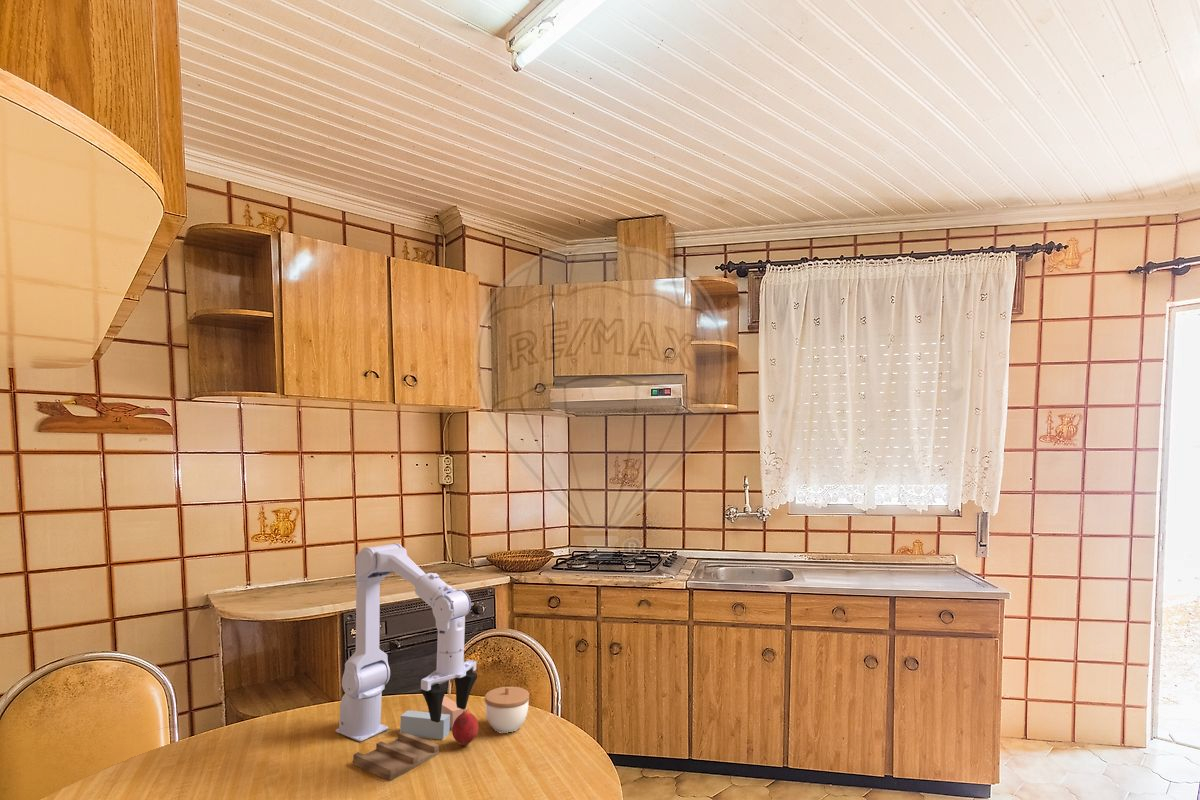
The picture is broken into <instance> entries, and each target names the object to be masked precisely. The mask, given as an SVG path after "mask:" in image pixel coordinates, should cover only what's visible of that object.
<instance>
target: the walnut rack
mask: <svg viewBox="0 0 1200 800" xmlns="http://www.w3.org/2000/svg"><path fill="white" fill-rule="evenodd" d="M439 753H440V751H439V743H438V744H437V743H435V742H432V741H430V740H426V739H425V738H422V737H416V736H413V735H411V734H408V733H405V732H398V733H397V739H395V740H392V741H389V742H388V743H386V742H384V741H379V742H377V743H376V745H375V749H374V750H372V751H370V752H368V753H366V754H364V753H361V752H360V751H358V752H356V753H354V754H353V760H352V765H353V766H355V765H356V766H355V767H357V766H358V768H359V767H360V769H362V770H363V771H366V772H369V773H371V774H373V775H376V776H378V777H380V778H382V779H385V780H387V781H389V782H391V781H393V780H395V779H396V778H398V777H400V776H402V775H404V774H405V773H407V772H409V771H410V770H413V769H414V768H416V767H418V766H420V765H422V764H423V763H425V762H428V761H430V760H431V759H432V758H434V757H437V756H438V755H439Z"/></svg>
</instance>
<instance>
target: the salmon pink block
mask: <svg viewBox="0 0 1200 800" xmlns="http://www.w3.org/2000/svg"><path fill="white" fill-rule="evenodd" d="M463 711H464V710H463V709H460V708H457V705H456V701H454V700H453V699H451V698H449V697H448V696H445V695H444V698H443V702H442V709H441V714H449V715H450V730H451V729H452V728H453V724H454V721H455V720H456V718H457V717H458V716H459V715H460V714H462V713H463Z"/></svg>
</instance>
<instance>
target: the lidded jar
mask: <svg viewBox="0 0 1200 800" xmlns="http://www.w3.org/2000/svg"><path fill="white" fill-rule="evenodd" d="M529 700H530V692H529V691H528V690H527V689H525V688H524V687H520V686H501V687H497V688H493V689H490V690H489V691H487V693H486V694H485V695H484V709H485V716H486V720H487V722H488V724H489V726H491V728H493V730H494V732H496V731H497V732H496V733H498V732H501V733H500V734H503V733H507V734H509V733H508V732H512V733H514V732H513V731H515V730H517V729H518V728H519V729H520V727H522V725H523V723H525V721H526V719H527V716H528V712H529V702H530V701H529ZM519 729H518V730H519ZM518 730H517V731H518ZM515 732H516V731H515Z"/></svg>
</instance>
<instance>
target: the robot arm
mask: <svg viewBox="0 0 1200 800" xmlns="http://www.w3.org/2000/svg"><path fill="white" fill-rule="evenodd" d="M407 552H408V551H407V549H406V548H405V547H403V546H402V545H401V544H400V543H398V542H394V543H391V544H385V545H378V546H377V545H376V546H371V547H369V546H367V547H363V548H362V549H360V551H359V552H358V553H357V554H356V555H355V583H356V584H355V585H356V587H355V588H356V589H355V590H356V591H355V606H356V607H355V651H354V653H352V655H351V656H349V657H348V659H347V660H346V661H345V663H344V671H343V675H342V679H341V687H342V690H343V692H344V694H343V695H342V697H341V700H340V704H339V720H338V728H336V729H335V733H338V734H340V735H343V736H345V737H348V738H350V739H352V740H354V741H357V742H364V741H366V740H368V739H370V738H372V737H373V736H376V735H378V734H381V733H382V732H384V731H387V730H389V726H387V725H384V724H382V722H381V719H382V717H381V716H382V695H383V694H382V693H383V690H385V689H386V688H385V686H386V685H387V684H388V683H389V680H390V677H391V669H390V666H389V661H388V656H389V655H388V654H387V653H386V652H385V651H383V650H381V649H380V629H381V627H380V626H381V625H380V618H381V617H380V613H381V612H380V611H381V609H380V607H381V605H380V604H381V603H380V601H381V600H380V597H381V595H380V594H381V591H380V590H381V588H380V587H381V586H380V584H381V583H382V581H383V580H384V579H385V578H386V577H387V576H388V575H390V574H391V573H393V572H394V573H395V574H397V575H398V576H400V577H401V578H403V579H404V580H406V581H407V582H408V583H409V584H411V585H412V586H414V592H415V594H416V596H418V597H419V598H420V599H421V600H423V602H425V604H426V605H428V606H429V607H430V608H431V610H432V614H433V617H434V619H435V627H436V630H437V642H436V643H437V647H436V669H435V670H434V671H432V672H431V673H430V674H428V675H427V676H426V677H424V678H422V679H421V680H420V692H421V694H422V696H423V697H424V700H425V703H426V705H427V709H428V712H429V714H430V719H431V721H434V722H440V719H441V709H442V702H443V698H444V696H445V694H446V692H447V690H446V689H443V688H441V686H440V684H441V685H442V684H443V683H446V682H448V681H450V680H453V681H454V685H455V702H456V705H457V708H460V709H463V710H464V709H466V708H467V704H468V701H469V697H470V694H471V691H472V688H473V687H474V684H475V683H476V681H477V679H478V673H476V672H475V671H477V661H475V660H472V659H469V660H466V661H465V635H466V634H465V632H466V631H465V630H466V627H465V626H466V616H467V615H468V614H469V613H470V611H471V608H472V600H471V597H470V595H469V594H468V593H467V592H466V590H465V589H456V588H453V587H452V586H451V585H449V584H448V583H446V581H444V580H443V579H441V578H440V575H439V574H438V573H437V572H435V573H433V572H428V573H426V572H425V571H424V570H423V569H422V568H420V567H419V566H418V565H417V564H416V563H415V562H414V561H413V560H412V559H411V558H410V557H409V556H408V553H407Z"/></svg>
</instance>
